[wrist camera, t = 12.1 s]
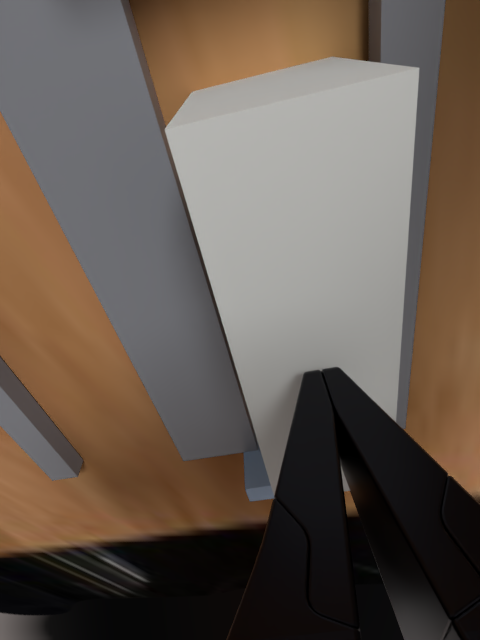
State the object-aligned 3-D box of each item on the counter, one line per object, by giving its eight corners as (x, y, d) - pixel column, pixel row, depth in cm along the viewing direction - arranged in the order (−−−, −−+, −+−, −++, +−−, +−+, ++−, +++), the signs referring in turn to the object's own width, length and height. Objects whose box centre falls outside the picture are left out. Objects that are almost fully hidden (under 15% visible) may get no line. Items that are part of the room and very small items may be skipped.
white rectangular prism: (330, 56, 10) (419, 67, 6) (346, 363, 17) (391, 484, 13) (192, 90, 11) (164, 129, 6) (262, 377, 18) (275, 500, 13)
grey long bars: (442, -207, 8) (467, -237, 7) (397, 412, 19) (405, 428, 19) (-323, 31, 10) (-374, 29, 9) (58, 464, 21) (52, 480, 21)
